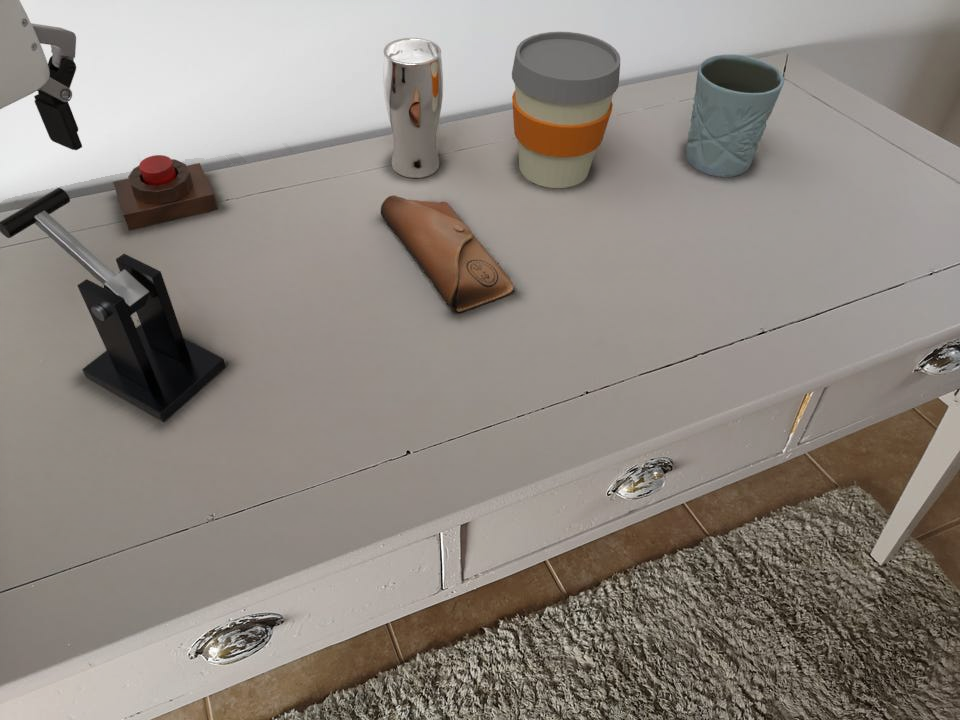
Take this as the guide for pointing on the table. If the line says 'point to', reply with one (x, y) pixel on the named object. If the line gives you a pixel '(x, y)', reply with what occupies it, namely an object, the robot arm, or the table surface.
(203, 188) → the control block
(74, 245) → the lever
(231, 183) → the table surface
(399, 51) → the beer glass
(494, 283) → the sunglasses case
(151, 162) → the button
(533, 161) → the reusable coffee cup
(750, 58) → the embossed green cup
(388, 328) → the table surface
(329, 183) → the table surface
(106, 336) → the bracket
